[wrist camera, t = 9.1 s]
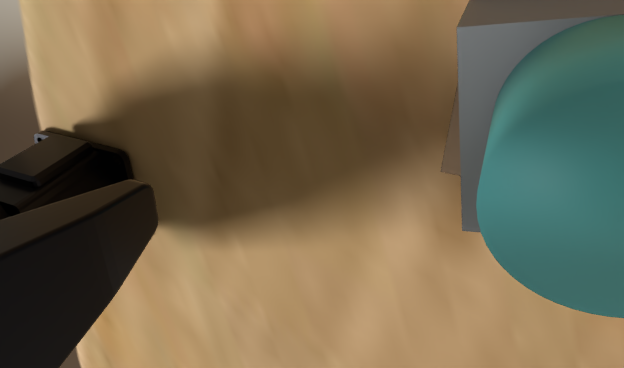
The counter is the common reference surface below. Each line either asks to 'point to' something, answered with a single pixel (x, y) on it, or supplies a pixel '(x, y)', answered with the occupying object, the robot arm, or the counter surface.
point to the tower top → (502, 67)
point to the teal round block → (561, 170)
